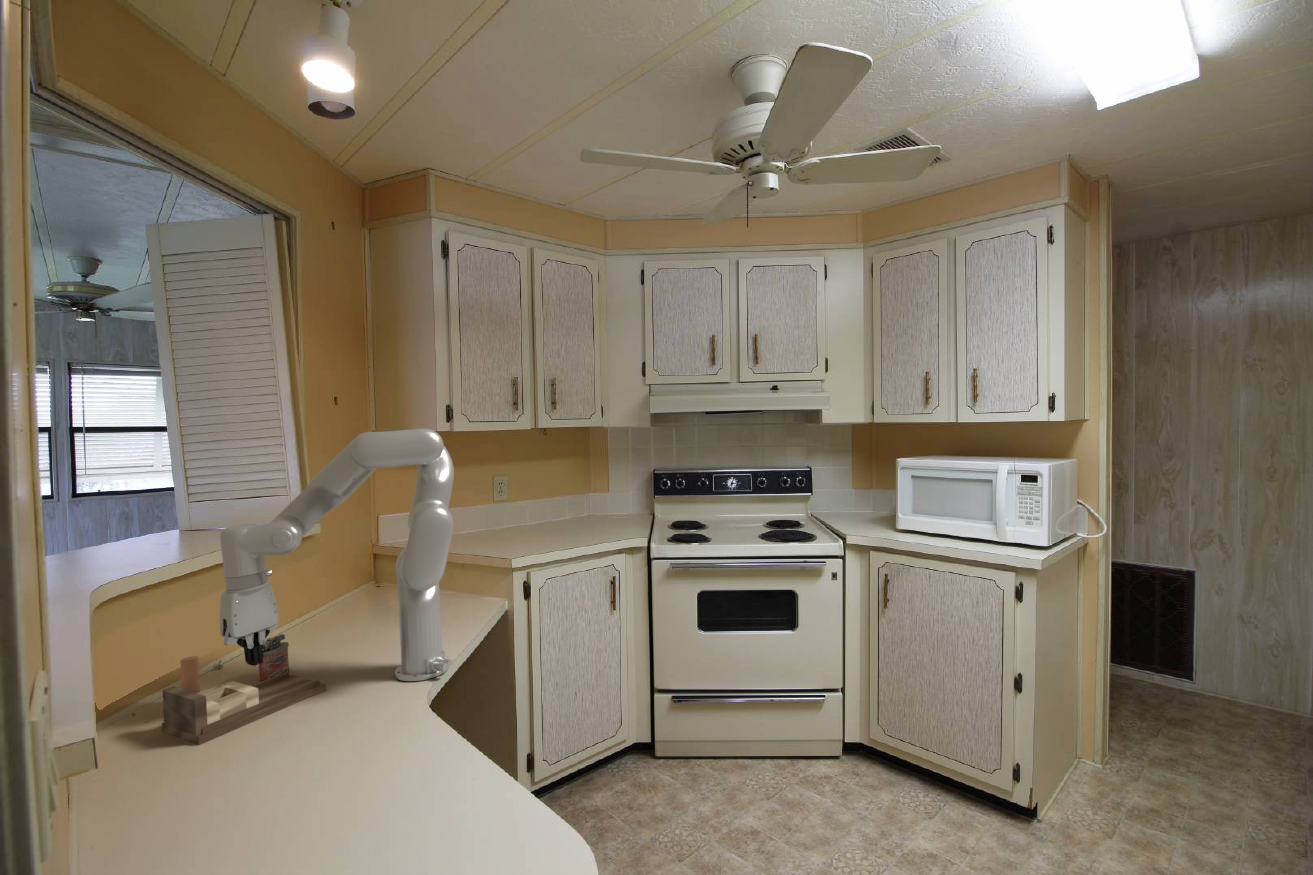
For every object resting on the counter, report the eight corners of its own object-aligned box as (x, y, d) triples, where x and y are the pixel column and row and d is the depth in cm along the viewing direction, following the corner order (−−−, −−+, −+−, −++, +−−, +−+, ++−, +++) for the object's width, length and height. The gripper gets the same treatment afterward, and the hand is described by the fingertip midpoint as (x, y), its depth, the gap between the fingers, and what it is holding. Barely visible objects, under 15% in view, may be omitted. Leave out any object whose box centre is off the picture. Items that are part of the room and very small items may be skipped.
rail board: (326, 689, 139) (324, 653, 139) (199, 744, 116) (197, 701, 116) (289, 680, 146) (287, 645, 145) (162, 730, 122) (160, 689, 122)
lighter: (266, 685, 143) (264, 643, 143) (254, 684, 144) (252, 643, 144) (293, 671, 151) (291, 632, 151) (282, 670, 152) (280, 631, 151)
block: (259, 706, 128) (258, 688, 128) (206, 728, 119) (205, 708, 119) (232, 698, 132) (231, 680, 132) (179, 719, 123) (178, 699, 123)
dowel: (203, 701, 136) (201, 657, 135) (187, 707, 133) (184, 662, 133) (195, 698, 137) (193, 655, 137) (179, 704, 134) (177, 660, 134)
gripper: (271, 571, 139) (279, 648, 140) (198, 590, 126) (207, 675, 127) (290, 572, 136) (299, 652, 136) (218, 592, 122) (227, 680, 123)
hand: (255, 663), depth 131 cm, fingers closed
